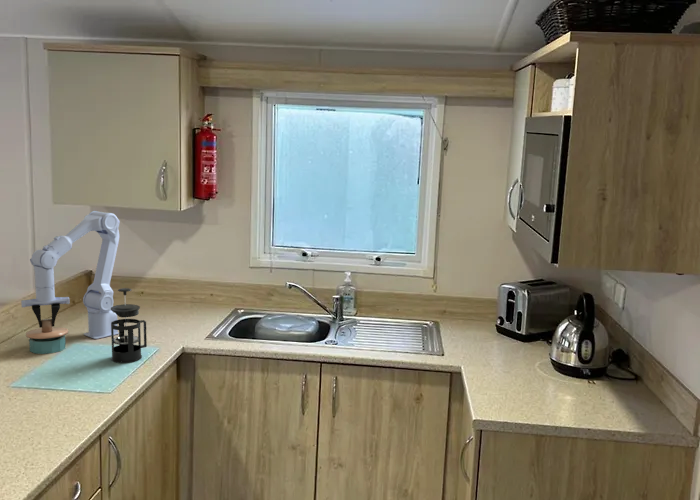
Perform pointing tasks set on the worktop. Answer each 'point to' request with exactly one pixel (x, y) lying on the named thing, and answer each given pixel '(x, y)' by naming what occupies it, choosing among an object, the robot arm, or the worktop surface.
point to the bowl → (47, 345)
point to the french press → (126, 342)
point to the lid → (46, 331)
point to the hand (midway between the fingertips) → (46, 326)
